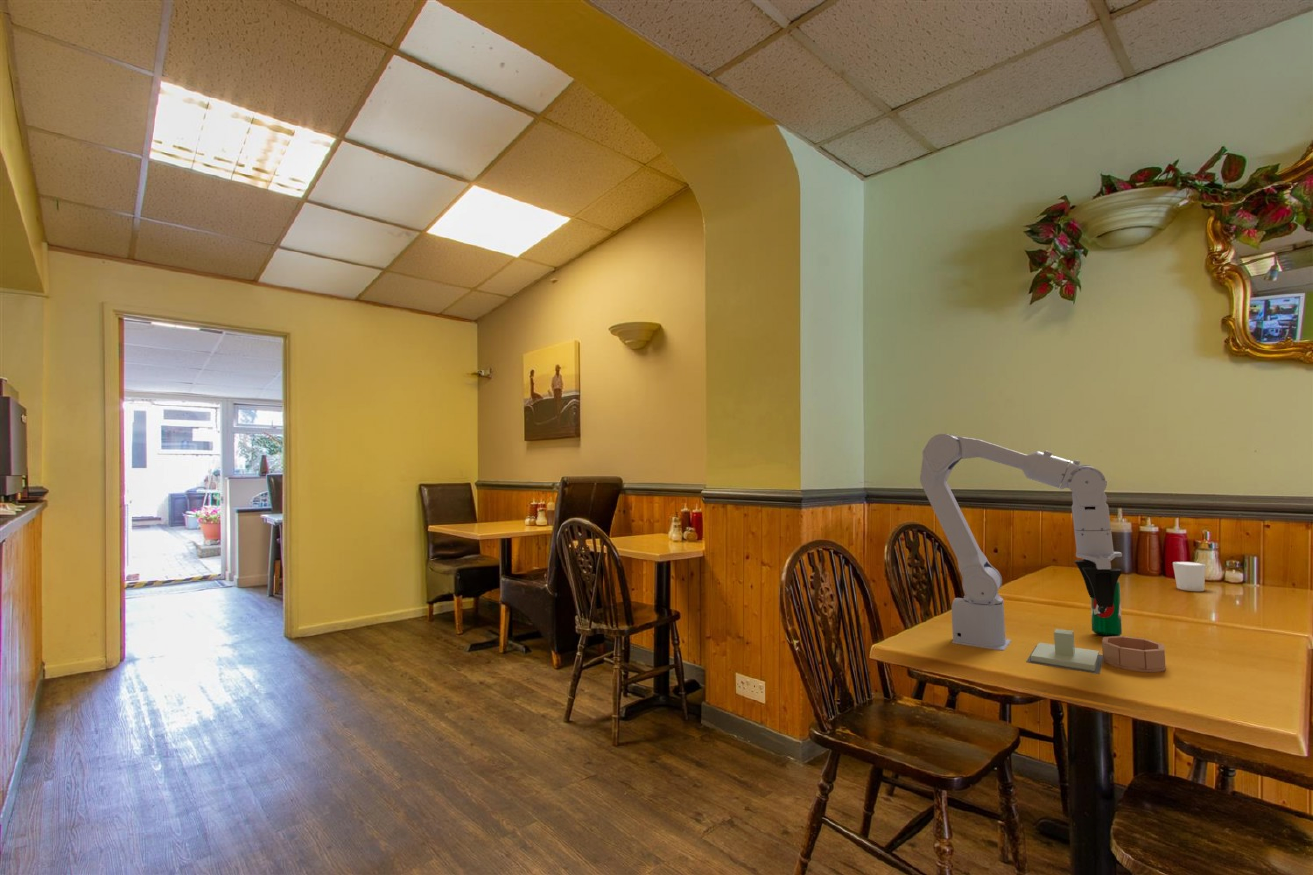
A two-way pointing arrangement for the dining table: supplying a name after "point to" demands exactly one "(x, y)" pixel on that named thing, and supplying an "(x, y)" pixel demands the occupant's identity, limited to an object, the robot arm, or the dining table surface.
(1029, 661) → the mat
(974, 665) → the dining table surface
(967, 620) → the robot arm
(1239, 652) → the dining table surface
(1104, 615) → the soda can
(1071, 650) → the cover
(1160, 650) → the bowl
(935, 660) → the dining table surface
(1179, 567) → the white cup
